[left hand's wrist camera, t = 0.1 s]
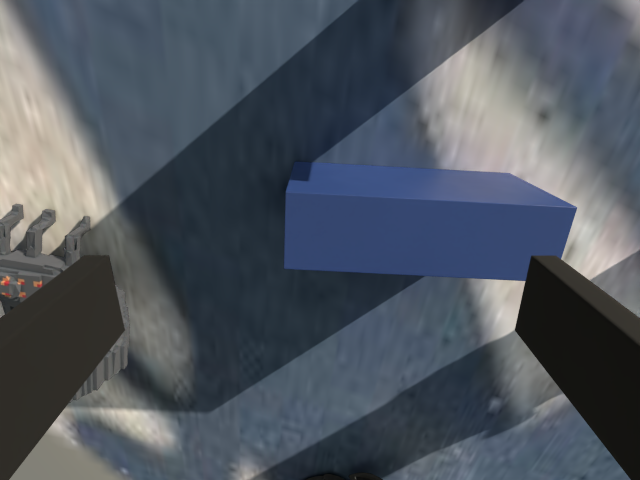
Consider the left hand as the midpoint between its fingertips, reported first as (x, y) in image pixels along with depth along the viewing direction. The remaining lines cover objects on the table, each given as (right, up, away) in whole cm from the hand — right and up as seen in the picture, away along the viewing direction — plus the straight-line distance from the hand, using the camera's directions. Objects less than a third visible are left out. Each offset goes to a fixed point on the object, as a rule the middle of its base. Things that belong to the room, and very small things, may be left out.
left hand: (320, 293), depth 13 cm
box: (+8, +6, +28) cm, 29 cm away
